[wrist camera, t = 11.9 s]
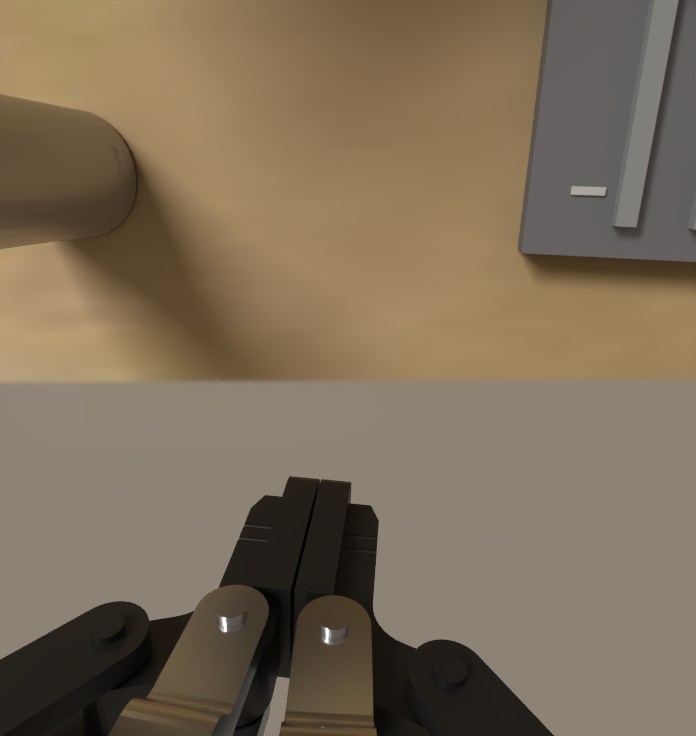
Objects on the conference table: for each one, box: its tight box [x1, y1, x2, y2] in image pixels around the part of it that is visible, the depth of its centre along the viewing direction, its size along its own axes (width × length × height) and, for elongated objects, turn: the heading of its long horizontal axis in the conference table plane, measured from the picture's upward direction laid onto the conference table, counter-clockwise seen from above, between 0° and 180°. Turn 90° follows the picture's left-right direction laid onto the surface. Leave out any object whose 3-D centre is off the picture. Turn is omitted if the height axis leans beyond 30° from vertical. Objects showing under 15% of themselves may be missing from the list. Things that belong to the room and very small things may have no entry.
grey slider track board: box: [518, 0, 696, 262], centre depth 32 cm, size 16×26×4 cm, turn 179°
